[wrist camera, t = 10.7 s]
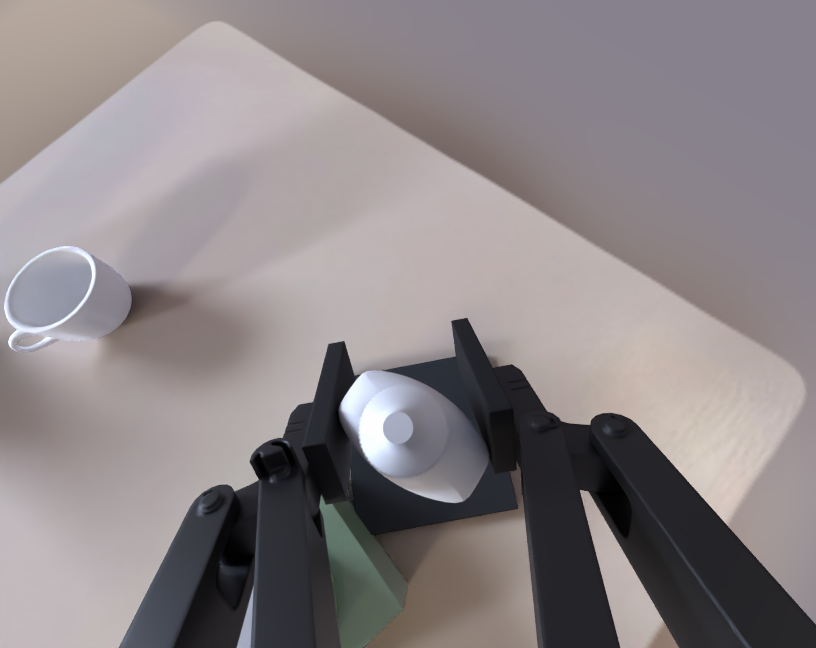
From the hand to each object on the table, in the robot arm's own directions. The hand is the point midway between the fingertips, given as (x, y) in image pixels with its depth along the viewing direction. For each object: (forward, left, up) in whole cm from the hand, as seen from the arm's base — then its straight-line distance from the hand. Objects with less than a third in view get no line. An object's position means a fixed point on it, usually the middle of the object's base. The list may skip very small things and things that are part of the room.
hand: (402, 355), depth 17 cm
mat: (-1, +4, -13) cm, 14 cm away
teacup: (+31, -7, -13) cm, 34 cm away
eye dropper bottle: (-1, +4, -4) cm, 5 cm away
